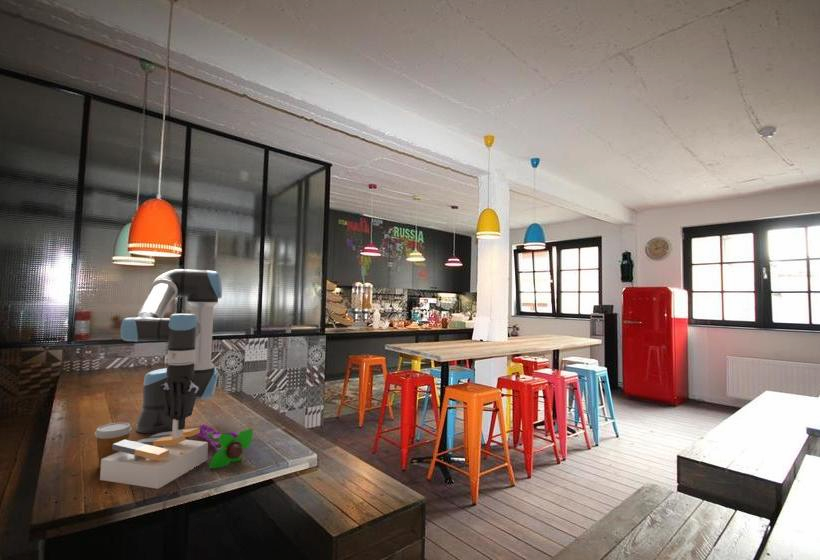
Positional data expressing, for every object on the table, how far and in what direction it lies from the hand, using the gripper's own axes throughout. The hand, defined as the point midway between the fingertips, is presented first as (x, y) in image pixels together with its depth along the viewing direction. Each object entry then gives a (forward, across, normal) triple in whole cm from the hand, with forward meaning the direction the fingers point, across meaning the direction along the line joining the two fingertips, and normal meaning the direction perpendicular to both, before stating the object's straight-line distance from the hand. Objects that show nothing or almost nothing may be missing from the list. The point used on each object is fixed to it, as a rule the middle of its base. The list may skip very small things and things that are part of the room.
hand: (177, 439), depth 124 cm
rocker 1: (+1, -7, -6) cm, 9 cm away
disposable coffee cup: (+10, -23, -1) cm, 25 cm away
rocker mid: (+1, -7, 0) cm, 7 cm away
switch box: (+10, -7, 0) cm, 12 cm away
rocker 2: (+1, -7, +7) cm, 10 cm away
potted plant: (+11, +1, +17) cm, 20 cm away
